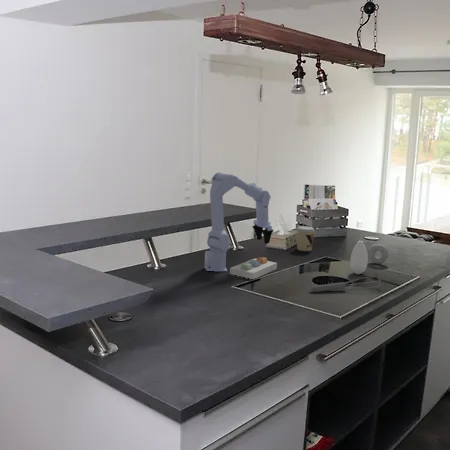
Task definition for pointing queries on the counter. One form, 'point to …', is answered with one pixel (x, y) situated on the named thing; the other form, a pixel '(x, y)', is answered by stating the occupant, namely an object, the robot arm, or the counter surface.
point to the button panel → (254, 270)
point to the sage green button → (246, 266)
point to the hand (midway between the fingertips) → (263, 241)
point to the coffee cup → (305, 238)
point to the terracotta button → (262, 260)
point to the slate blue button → (254, 263)
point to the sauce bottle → (359, 258)
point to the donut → (383, 251)
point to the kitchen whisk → (338, 286)
